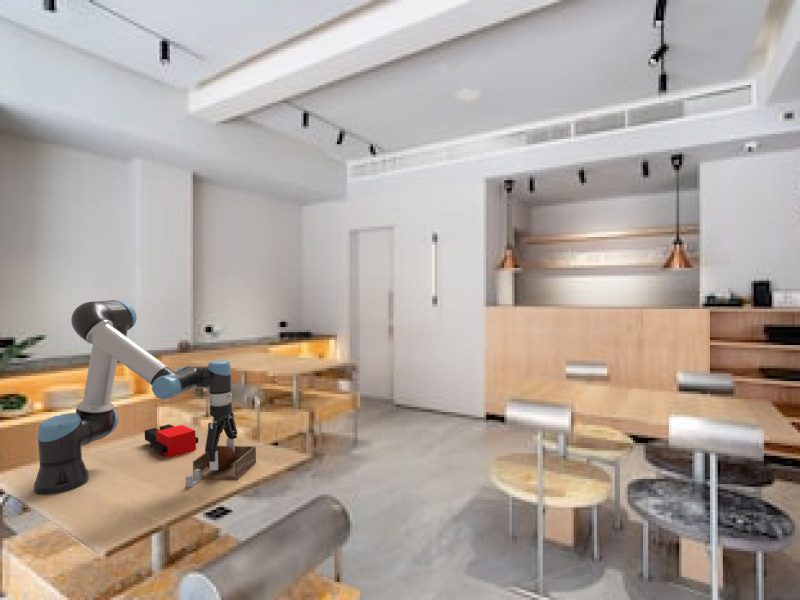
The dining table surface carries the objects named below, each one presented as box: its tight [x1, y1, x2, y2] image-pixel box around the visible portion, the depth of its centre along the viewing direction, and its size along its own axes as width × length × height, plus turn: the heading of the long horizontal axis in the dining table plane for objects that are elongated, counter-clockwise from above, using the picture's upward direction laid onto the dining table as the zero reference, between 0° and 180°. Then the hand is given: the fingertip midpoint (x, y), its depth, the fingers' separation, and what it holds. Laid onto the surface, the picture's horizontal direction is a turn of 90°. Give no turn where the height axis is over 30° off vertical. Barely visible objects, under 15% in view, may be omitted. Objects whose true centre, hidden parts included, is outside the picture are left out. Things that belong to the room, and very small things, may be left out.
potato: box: [206, 445, 236, 469], centre depth 159 cm, size 8×12×8 cm, turn 156°
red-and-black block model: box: [144, 423, 199, 459], centre depth 186 cm, size 15×8×25 cm
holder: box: [192, 444, 257, 481], centre depth 162 cm, size 16×15×6 cm
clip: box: [184, 469, 202, 488], centre depth 151 cm, size 2×6×4 cm, turn 174°
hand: (222, 462), depth 159 cm, fingers open, 11 cm apart
